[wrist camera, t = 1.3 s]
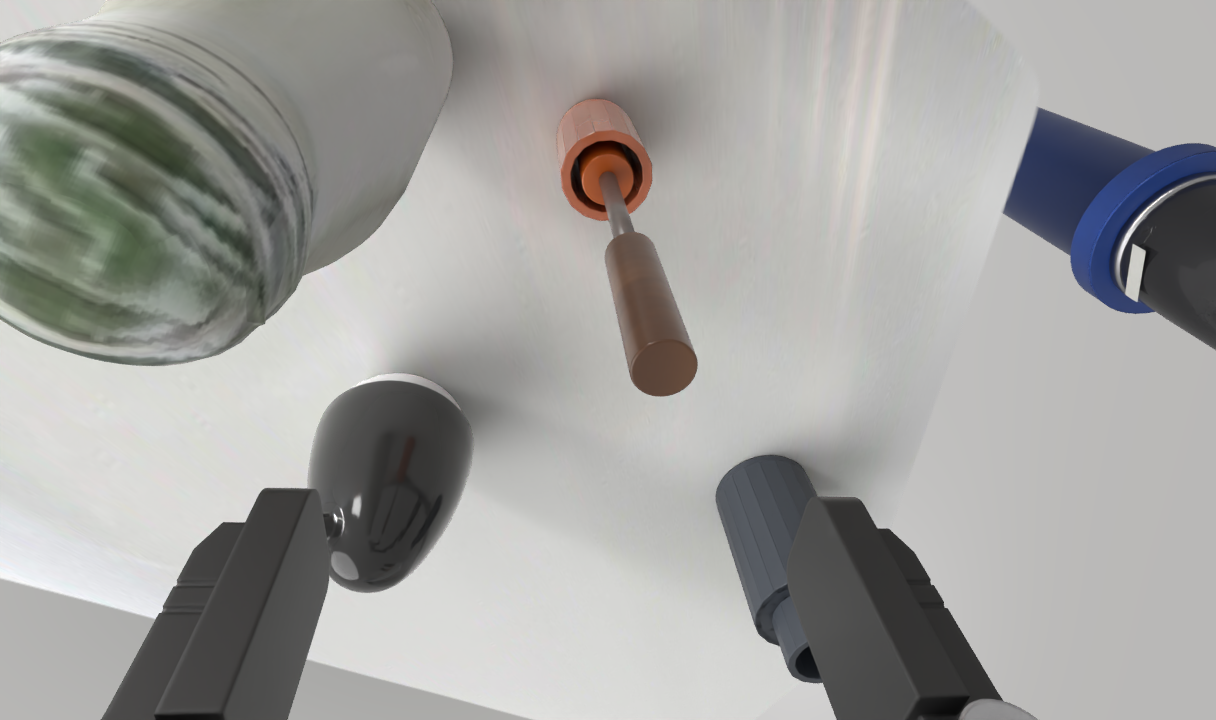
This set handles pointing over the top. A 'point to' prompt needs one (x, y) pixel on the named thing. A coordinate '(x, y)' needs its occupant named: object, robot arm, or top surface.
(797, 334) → the top surface
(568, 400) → the top surface
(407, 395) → the dark egg shaped ornament
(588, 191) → the bottle brush
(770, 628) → the steel bottle
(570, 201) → the cup
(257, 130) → the pale grey bottle
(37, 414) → the top surface
